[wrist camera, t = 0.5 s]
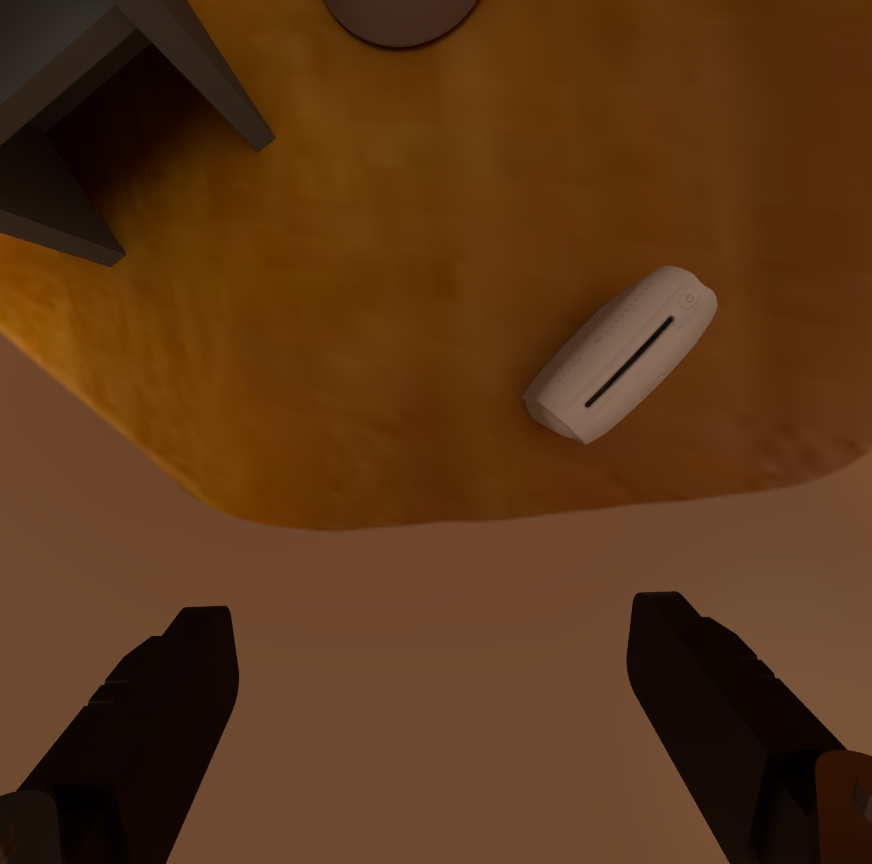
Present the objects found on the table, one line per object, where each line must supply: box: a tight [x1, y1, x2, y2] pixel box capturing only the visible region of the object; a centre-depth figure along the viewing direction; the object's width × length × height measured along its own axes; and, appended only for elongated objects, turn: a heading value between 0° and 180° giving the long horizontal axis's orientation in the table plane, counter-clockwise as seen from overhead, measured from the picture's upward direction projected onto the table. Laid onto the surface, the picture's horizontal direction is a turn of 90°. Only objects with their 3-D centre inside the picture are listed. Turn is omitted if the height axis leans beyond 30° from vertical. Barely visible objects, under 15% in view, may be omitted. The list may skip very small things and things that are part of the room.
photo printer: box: [522, 266, 718, 445], centre depth 29 cm, size 10×4×12 cm, turn 138°
